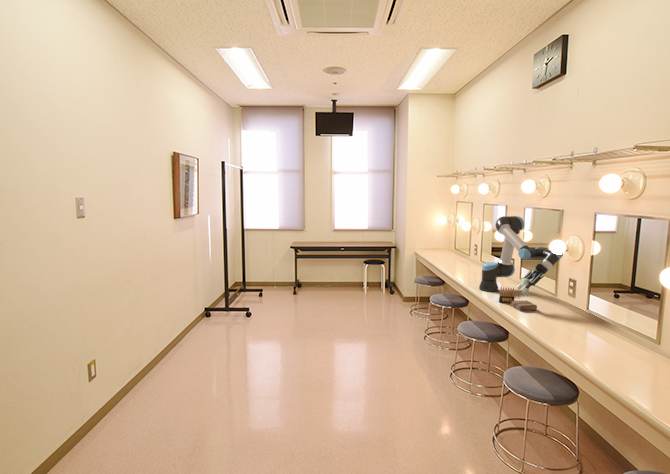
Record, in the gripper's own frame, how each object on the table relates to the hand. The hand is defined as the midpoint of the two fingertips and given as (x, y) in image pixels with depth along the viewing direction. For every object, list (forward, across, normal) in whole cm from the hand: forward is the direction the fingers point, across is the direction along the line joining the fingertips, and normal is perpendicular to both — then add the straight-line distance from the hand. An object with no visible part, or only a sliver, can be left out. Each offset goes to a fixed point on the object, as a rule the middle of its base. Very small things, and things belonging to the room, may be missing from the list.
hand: (520, 289), depth 257 cm
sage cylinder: (0, 0, -5) cm, 5 cm away
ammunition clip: (+11, +14, -9) cm, 20 cm away
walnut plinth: (+7, 0, -13) cm, 15 cm away
